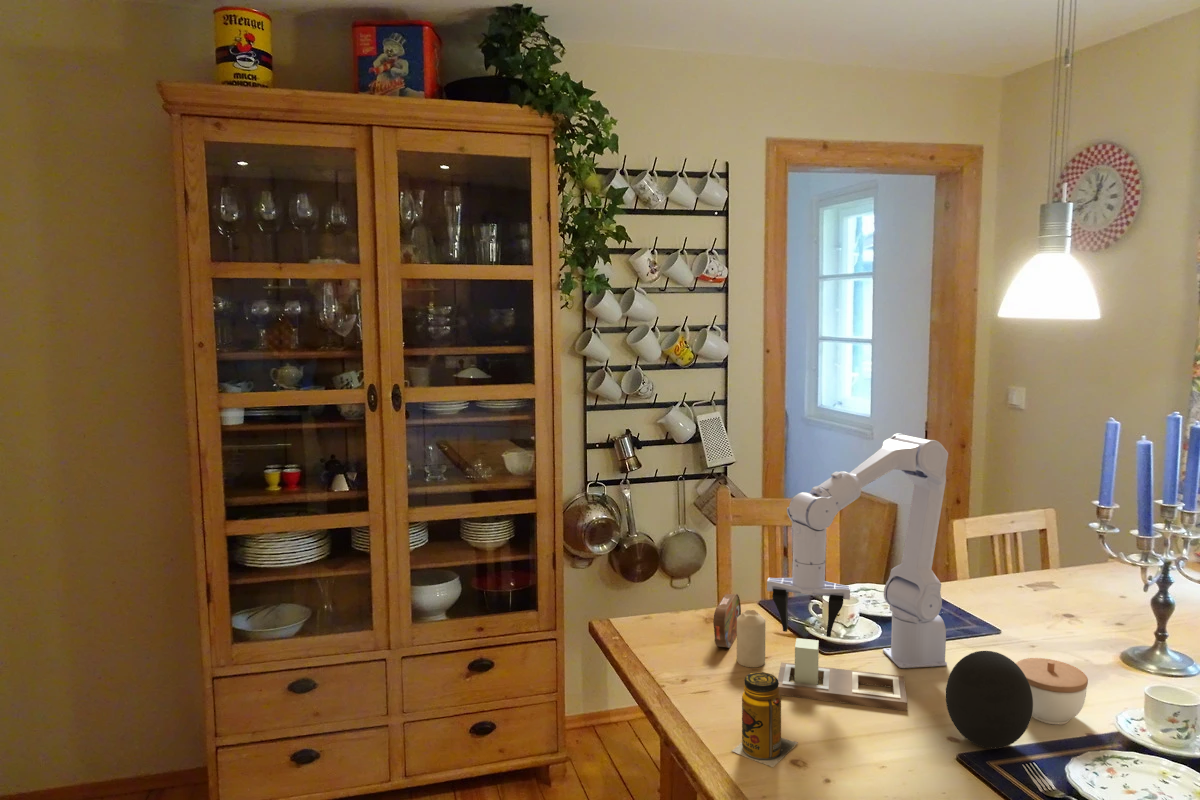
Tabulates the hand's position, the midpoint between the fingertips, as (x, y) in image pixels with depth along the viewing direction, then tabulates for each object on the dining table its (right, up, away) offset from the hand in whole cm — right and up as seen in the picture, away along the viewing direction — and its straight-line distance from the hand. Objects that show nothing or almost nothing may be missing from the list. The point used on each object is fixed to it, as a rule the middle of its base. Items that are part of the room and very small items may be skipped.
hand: (806, 632), depth 147 cm
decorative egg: (+24, -12, -19) cm, 33 cm away
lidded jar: (+38, -11, -11) cm, 41 cm away
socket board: (+6, -10, -1) cm, 12 cm away
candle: (-8, -9, +11) cm, 17 cm away
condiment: (-12, -13, -19) cm, 26 cm away
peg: (0, -10, +1) cm, 10 cm away
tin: (-11, -8, +22) cm, 26 cm away
